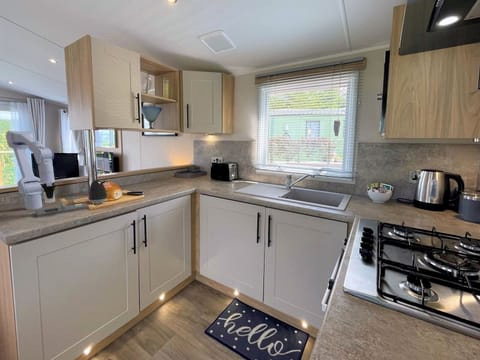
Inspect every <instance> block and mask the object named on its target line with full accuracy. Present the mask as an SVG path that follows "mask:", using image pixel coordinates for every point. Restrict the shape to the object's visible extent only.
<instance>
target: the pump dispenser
mask: <svg viewBox="0 0 480 360" xmlns="http://www.w3.org/2000/svg"><path fill="white" fill-rule="evenodd" d="M106 183H107V181H106V180H103V181H102V180H101V179H94V180H93V181H91V183H90V185H89V188H88V195H87V196H88V197H87V198H88V200H89V203H91V204H92V203H94V204H93V205H96V204H97V205H99V204H98V203H103V202H104V203H106V201H107V200H106V199H108V197H107V196H108V192H107V188H106V186H105V185H104V184H106ZM104 203H103V204H104Z"/></svg>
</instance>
